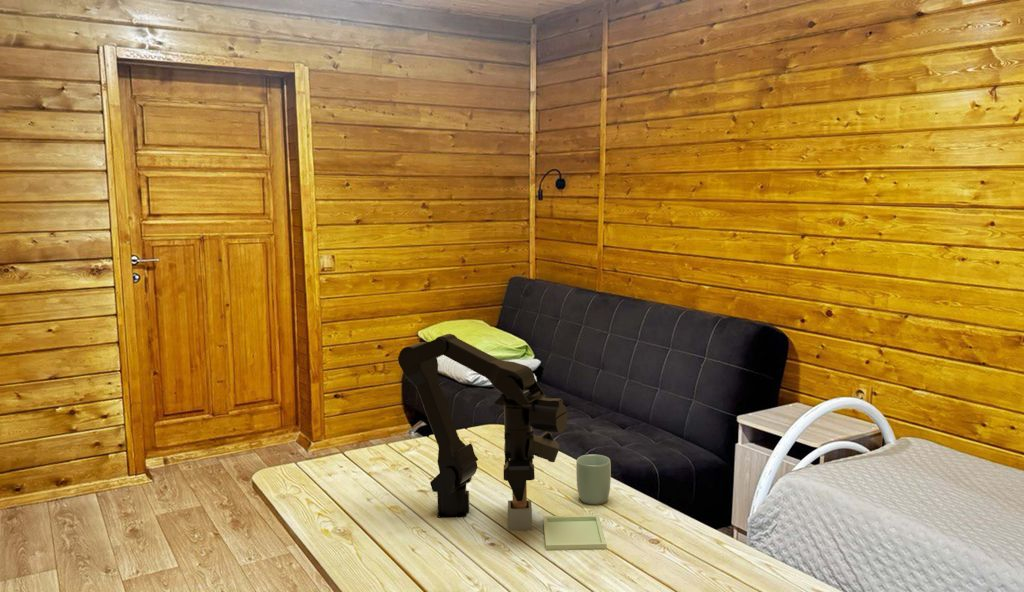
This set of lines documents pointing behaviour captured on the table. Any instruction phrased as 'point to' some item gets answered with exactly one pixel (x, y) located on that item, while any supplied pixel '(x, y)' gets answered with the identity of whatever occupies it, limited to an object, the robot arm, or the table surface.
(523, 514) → the pen cup
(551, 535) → the tray
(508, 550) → the table surface
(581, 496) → the cup
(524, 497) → the dowel
